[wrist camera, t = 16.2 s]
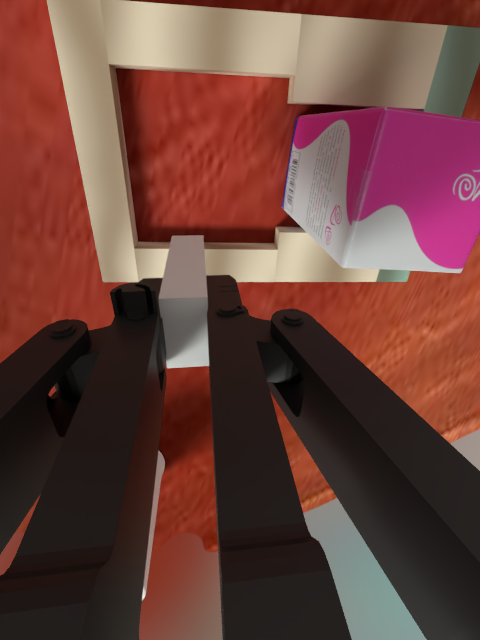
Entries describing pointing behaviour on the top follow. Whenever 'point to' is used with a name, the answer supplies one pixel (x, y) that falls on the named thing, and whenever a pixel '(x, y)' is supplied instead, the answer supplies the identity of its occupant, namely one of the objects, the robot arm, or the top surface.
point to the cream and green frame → (249, 60)
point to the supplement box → (387, 187)
